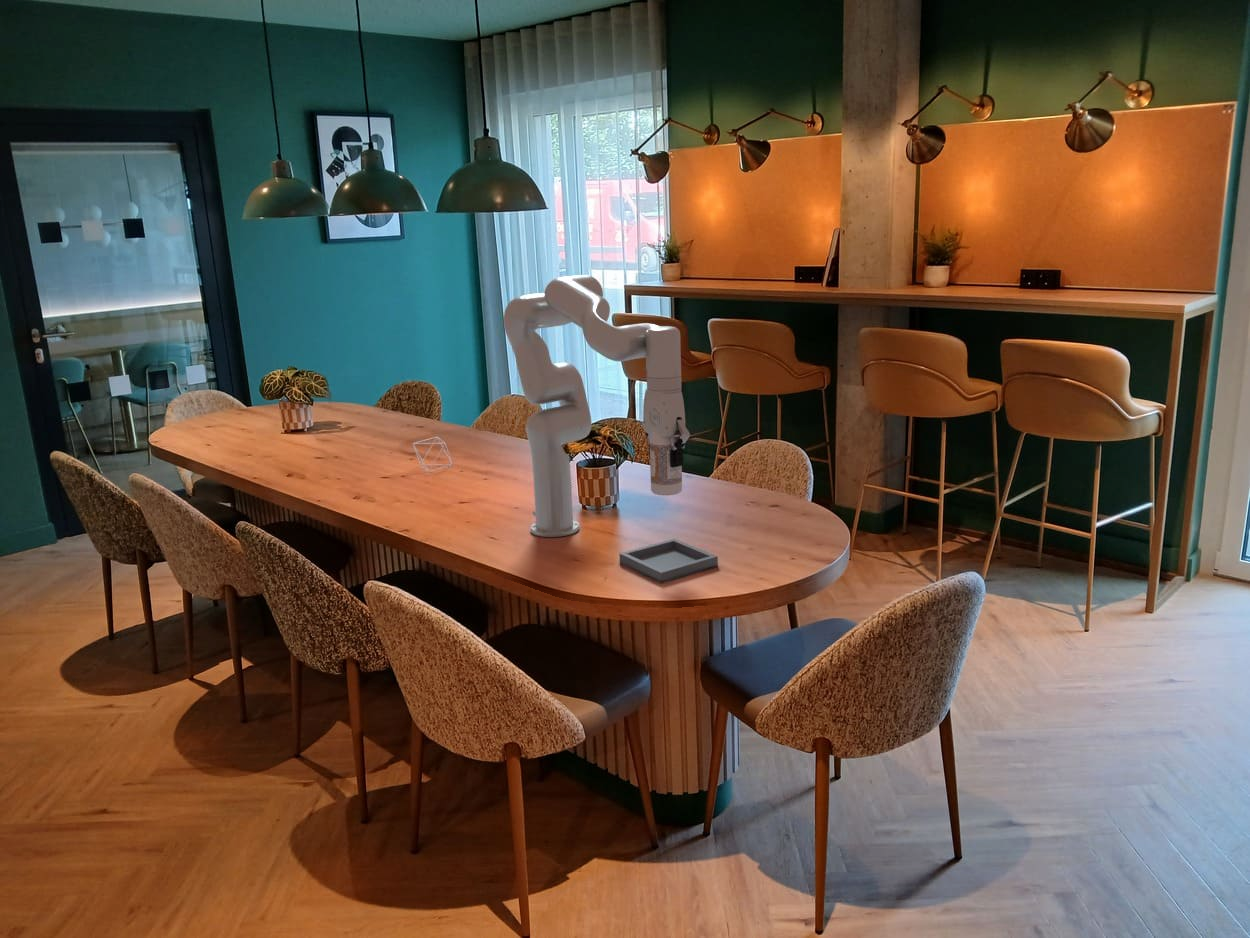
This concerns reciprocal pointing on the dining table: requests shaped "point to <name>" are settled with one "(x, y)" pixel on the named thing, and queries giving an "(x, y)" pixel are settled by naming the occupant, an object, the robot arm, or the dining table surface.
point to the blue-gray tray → (668, 560)
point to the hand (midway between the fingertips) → (666, 462)
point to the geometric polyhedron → (428, 451)
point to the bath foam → (663, 467)
